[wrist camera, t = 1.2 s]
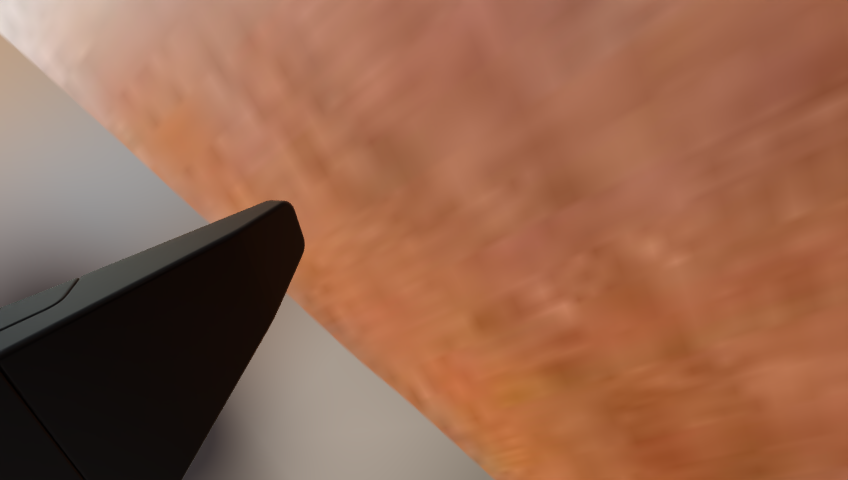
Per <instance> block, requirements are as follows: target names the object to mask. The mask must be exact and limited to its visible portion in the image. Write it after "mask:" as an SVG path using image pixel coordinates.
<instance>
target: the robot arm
mask: <svg viewBox="0 0 848 480" xmlns="http://www.w3.org/2000/svg"><path fill="white" fill-rule="evenodd" d="M304 247H305V242H304V237H303V234H302V231H301V228H300V225H299V222H298V219H297V216H296V213H295V210H294V207H293V206H292V205H291V203H289V202H287V201H275V200H270V201H265V202H263V203H260V204H258V205H256V206H253V207H251V208H248V209H246V210H243V211H241V212H238V213H236V214H233V215H231V216H228V217H226V218H223V219H221V220H219V221H216V222H214V223H211V224H209V225H206V226H204V227H201V228H199V229H196V230H194V231H192V232H189V233H187V234H184V235H182V236H179V237H177V238H174V239H172V240H169V241H167V242H164V243H162V244H159V245H157V246H155V247H152V248H150V249H147V250H145V251H142V252H140V253H137V254H135V255H133V256H130V257H128V258H125V259H122V260H120V261H118V262H115V263H113V264H110V265H108V266H105V267H103V268H100V269H98V270H96V271H93V272H90V273H88V274H86V275H83V276H82V277H81V278H80V279H79V278H75V279H73V280H71V281H68V282H66V283H63V284H61V285H58V286H56V287H53V288H51V289H48V290H46V291H43V292H41V293H38V294H35V295H33V296H30V297H28V298H25V299H23V300H20V301H17V302H15V303H12V304H9V305H7V306H4V307H1V308H0V480H182V479H183V477H184V475H185V474H186V472H187V470H188V468H189V467H190V465H191V463H192V461H193V460H194V458H195V456H196V454H197V453H198V451H199V449H200V447H201V445H202V444H203V442H204V440H205V439H206V437H207V435H208V433H209V432H210V430H211V428H212V426H213V425H214V423H215V421H216V419H217V418H218V416H219V414H220V412H221V411H222V409H223V407H224V406H225V404H226V402H227V400H228V399H229V397H230V395H231V393H232V392H233V390H234V388H235V386H236V384H237V383H238V381H239V379H240V378H241V376H242V374H243V372H244V371H245V369H246V367H247V365H248V364H249V362H250V360H251V358H252V357H253V355H254V353H255V352H256V349H257V348H258V346H259V344H260V343H261V341H262V339H263V337H264V336H265V334H266V332H267V331H268V329H269V327H270V325H271V323H272V321H273V319H274V317H275V315H276V313H277V311H278V309H279V307H280V305H281V302H282V300H283V298H284V296H285V293H286V291H287V289H288V286H289V284H290V282H291V280H292V277H293V275H294V273H295V271H296V268H297V266H298V264H299V262H300V259H301V257H302V255H303V252H304Z"/></svg>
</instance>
